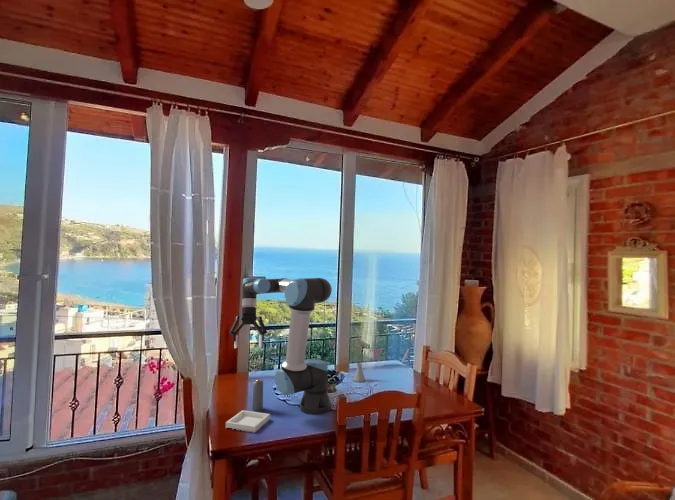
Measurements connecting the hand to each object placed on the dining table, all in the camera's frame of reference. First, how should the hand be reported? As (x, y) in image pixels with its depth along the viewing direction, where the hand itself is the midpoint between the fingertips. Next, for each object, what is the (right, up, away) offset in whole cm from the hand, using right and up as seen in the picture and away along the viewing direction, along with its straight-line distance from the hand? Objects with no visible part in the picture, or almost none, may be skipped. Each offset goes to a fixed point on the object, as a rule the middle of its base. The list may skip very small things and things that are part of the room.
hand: (248, 347), depth 211 cm
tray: (+7, -25, -33) cm, 42 cm away
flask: (+60, -26, +28) cm, 71 cm away
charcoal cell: (+8, -25, -17) cm, 32 cm away
